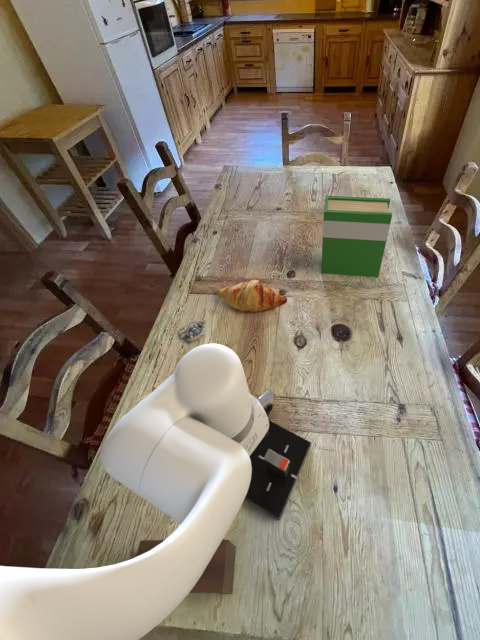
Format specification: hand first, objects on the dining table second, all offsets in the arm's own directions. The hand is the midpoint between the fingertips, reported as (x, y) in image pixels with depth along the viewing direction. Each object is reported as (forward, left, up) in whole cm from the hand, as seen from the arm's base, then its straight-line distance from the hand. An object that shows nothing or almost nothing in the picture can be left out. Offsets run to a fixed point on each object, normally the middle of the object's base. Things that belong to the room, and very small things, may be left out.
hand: (242, 455), depth 56 cm
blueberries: (+23, +33, -17) cm, 43 cm away
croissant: (+39, +24, -17) cm, 49 cm away
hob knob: (+4, -4, -14) cm, 15 cm away
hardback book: (+64, +3, -17) cm, 66 cm away
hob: (+4, +1, -17) cm, 17 cm away
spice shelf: (-16, +2, -17) cm, 23 cm away
